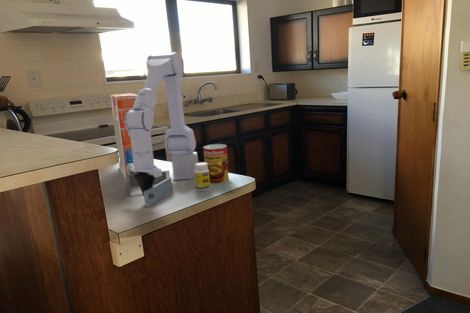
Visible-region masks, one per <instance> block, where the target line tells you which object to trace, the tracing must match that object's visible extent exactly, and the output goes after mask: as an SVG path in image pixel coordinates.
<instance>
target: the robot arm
mask: <svg viewBox="0 0 470 313" xmlns="http://www.w3.org/2000/svg"><path fill="white" fill-rule="evenodd" d="M182 62H183V61H182V58H181V56H180V55H179V53H178V52H170V53H167V52H166V53H158V54H153V53H151V54H148V56H147V58H146V68H147V71H148V72H147V76H146V80H145V83H144V85H143V86H144V87H143V88H141V89H139V91H138V93H137V94H136V95H137V97H136V100H135V102H134V105H133V108H132V110H130V111H129V112H127V113H126V115H125V121H124V124H125V127H126V129H127V131H128V135H129V136H130V138H131V146H132V154H133V163H130V164H129V170H131V171H132V172H138V173H137V174H135V175H134V178H135V179H136V181H137V182H138V184H139V186H140V188H141V191H142V194H143V195H142V196H143V197H144V191H146V190H148V189H149V188H151V187H153V182H154V180H155V177H159V176H162V172H161V171H162V169H161V168H159V167H157V165H155V161H154V160H155V159H154V152H153V143H152V142H153V141H152V135H151V134H152V133H151V129H152V128H153V126H154V122H155V121H154V114H155V113H154V111H155V107H156V103H157V101H158V95H157V91H158V88H159V87H160V85H161V82H162V81H163V82H164V83H165V84H164V85H165V92H166V101H167V108H168V116H169V125H170V128H168V129H167V130H166V132H165V136H164V137H165V140H164V146H165V150H166V151H167V152H168V154H169V155H171V164H172V165H171V166H172V173H171V179H172V181H182V180H187V179H188V180H190V179H195V175H194V171H195V170H196V169H195V164H196V163H199V157H198V152H197V151H195V149H196V147H197V141H196V137H195V132H194V130H193V129H192V128H190V127H189V126H187V125H186V122H185V115H184V107H183V96H182V89H181V88H182V87H181V78H183V77H184V74H183V73H184V71H183V70H184V69H183V63H182Z"/></svg>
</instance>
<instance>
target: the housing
mask: <svg viewBox="0 0 470 313" xmlns="http://www.w3.org/2000/svg"><path fill="white" fill-rule="evenodd" d="M161 172H162V176H159V177H155V180H154V182H153V186H155V185H157V184H158V183H160V182H162V181H164V180H166V179H167V178H169V177H171V173H170V170H161ZM134 175H135V174H130V175H127V177H126V179H125V181H124V187H125V194H126V197H127V196H128V197H134V196H143V194H142V191H141V188H140V186H139V184H138V182H137V181H136V179H135V178H134Z"/></svg>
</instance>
